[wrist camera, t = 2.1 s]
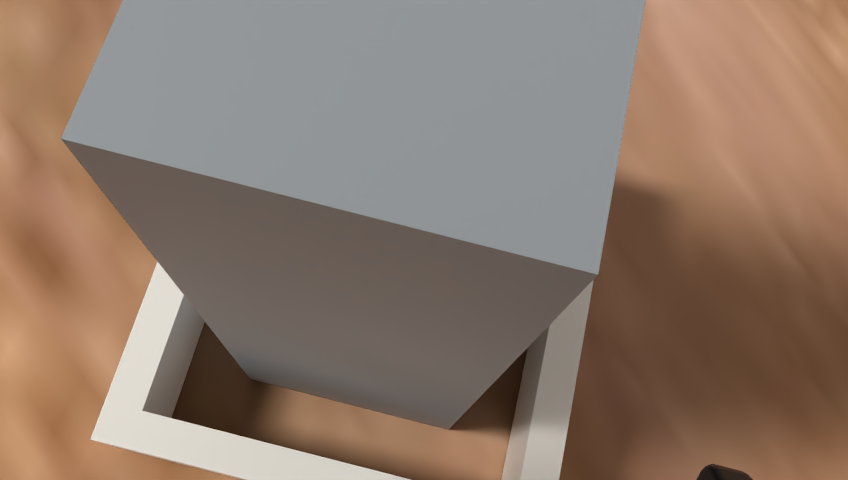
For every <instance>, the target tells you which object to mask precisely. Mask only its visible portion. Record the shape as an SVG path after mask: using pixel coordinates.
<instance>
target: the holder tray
mask: <svg viewBox="0 0 848 480" xmlns="http://www.w3.org/2000/svg"><path fill="white" fill-rule="evenodd" d="M593 281H594V280H593ZM593 281H592V282H591V283H590V284H589V285H588V286H587V287H586V288H585V289H584V290H583V291H582V292H581V293H580V294H579V295H578V296H577V297H576V298H575V299H574V300H573V301H572V302H571V303H570V304H569V305H568V306H567V308H566V309H565V310H564V311H563V312H562V313H561V314H560V315H559V316H558V317H557V318H556V319H555V320H554V321H553V322H552V323H551V324H550V325H549V326H548V327H547V328H546V329H545V330H544V331H543V332H542V333H541V334H540V335H539V337H538V338H537V339H536V340H535V341H534V342H533V343H532V344H531V345H530V346H529V347H528V349H527V354H526V359H525V364H524V369H523V374H522V379H521V384H520V389H519V394H518V399H517V404H516V409H515V414H514V419H513V424H512V429H511V434H510V439H509V445H508V450H507V455H506V460H505V465H504V470H503V475H502V480H559V477H560V471H561V465H562V460H563V454H564V448H565V442H566V437H567V431H568V425H569V419H570V414H571V408H572V402H573V396H574V391H575V385H576V379H577V373H578V368H579V362H580V356H581V350H582V345H583V339H584V333H585V327H586V322H587V316H588V310H589V304H590V299H591V293H592V287H593ZM204 323H205V321H204V320H203V319H202V317H201V316H200V315H199V314H198V312H197V311H196V310H195V308H194V307H193V306H192V305H191V303H190V302H189V301H188V300H187V298H186V297H185V296H184V294H183V293H182V292H181V291H180V289H179V288H178V287H177V286H176V284H175V283H174V282H173V280H172V279H171V278H170V277H169V275H168V274H167V273H166V272H165V270H164V269H163V268H162V266H161V265H160V264H159V263H158V262H157V265H156V268H155V270H154V273H153V275H152V278H151V281H150V283H149V286H148V289H147V291H146V294H145V297H144V299H143V302H142V305H141V307H140V310H139V312H138V315H137V318H136V320H135V323H134V326H133V328H132V331H131V334H130V336H129V339H128V342H127V344H126V347H125V349H124V352H123V355H122V357H121V360H120V363H119V365H118V368H117V371H116V373H115V376H114V379H113V381H112V384H111V386H110V389H109V392H108V394H107V397H106V400H105V402H104V405H103V408H102V410H101V413H100V416H99V418H98V421H97V423H96V426H95V429H94V431H93V434H92V437H91V440H94V441H97V442H101V443H104V444H107V445H111V446H114V447H117V448H121V449H124V450H128V451H132V452H136V453H139V454H143V455H147V456H151V457H155V458H159V459H163V460H167V461H171V462H174V463H178V464H182V465H186V466H190V467H194V468H198V469H202V470H206V471H209V472H213V473H217V474H221V475H225V476H229V477H233V478H237V479H241V480H410V479H407V478H403V477H399V476H395V475H391V474H387V473H383V472H379V471H375V470H371V469H368V468H364V467H360V466H356V465H352V464H348V463H344V462H340V461H336V460H332V459H329V458H325V457H321V456H317V455H313V454H309V453H305V452H301V451H297V450H293V449H290V448H286V447H282V446H278V445H274V444H270V443H266V442H262V441H258V440H254V439H251V438H247V437H243V436H239V435H235V434H231V433H227V432H223V431H219V430H215V429H212V428H208V427H204V426H200V425H196V424H192V423H188V422H184V421H180V420H176V419H173V418H172V415H173V412H174V409H175V406H176V404H177V401H178V398H179V395H180V392H181V389H182V386H183V383H184V380H185V378H186V375H187V372H188V369H189V366H190V363H191V360H192V357H193V354H194V352H195V349H196V346H197V343H198V340H199V337H200V334H201V331H202V329H203V326H204Z"/></svg>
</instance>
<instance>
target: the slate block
mask: <svg viewBox="0 0 848 480" xmlns="http://www.w3.org/2000/svg"><path fill="white" fill-rule="evenodd" d="M644 6H645V0H123V2H122V4H121V6H120V8H119V11H118V13H117V15H116V17H115V20H114V22H113V24H112V26H111V28H110V31H109V33H108V35H107V37H106V40H105V42H104V44H103V46H102V49H101V51H100V53H99V55H98V57H97V60H96V62H95V64H94V66H93V69H92V71H91V73H90V75H89V78H88V80H87V82H86V84H85V86H84V89H83V91H82V93H81V95H80V98H79V100H78V102H77V104H76V107H75V109H74V111H73V113H72V115H71V118H70V120H69V122H68V124H67V127H66V129H65V131H64V133H63V136H62V138H61V139H62V141H63V142H64V143H65V144H66V146H67V147H68V148H69V150H70V151H71V152H72V153H73V155H74V156H75V157H76V158H77V160H78V161H79V162H80V164H81V165H82V166H83V167H84V169H85V170H86V171H87V172H88V174H89V175H90V176H91V177H92V179H93V180H94V181H95V183H96V184H97V185H98V186H99V188H100V189H101V190H102V191H103V193H104V194H105V195H106V197H107V198H108V199H109V200H110V202H111V203H112V204H113V205H114V207H115V208H116V209H117V211H118V212H119V213H120V214H121V216H122V217H123V218H124V219H125V221H126V222H127V223H128V225H129V226H130V227H131V228H132V230H133V231H134V232H135V233H136V235H137V236H138V237H139V239H140V240H141V241H142V242H143V244H144V245H145V246H146V247H147V249H148V250H149V251H150V252H151V254H152V255H153V256H154V258H155V259H156V260H157V261H158V263H159V264H160V265H161V266H162V268H163V269H164V270H165V272H166V273H167V274H168V275H169V277H170V278H171V279H172V280H173V282H174V283H175V284H176V286H177V287H178V288H179V289H180V291H181V292H182V293H183V294H184V296H185V297H186V298H187V300H188V301H189V302H190V303H191V305H192V306H193V307H194V308H195V310H196V311H197V312H198V314H199V315H200V316H201V317H202V319H203V320H204V321H205V322H206V324H207V325H208V326H209V327H210V329H211V330H212V331H213V333H214V334H215V335H216V336H217V338H218V339H219V340H220V341H221V343H222V344H223V345H224V347H225V348H226V349H227V350H228V352H229V353H230V354H231V355H232V357H233V358H234V359H235V361H236V362H237V363H238V364H239V366H240V367H241V368H242V369H243V371H244V372H245V373H246V375H247V376H248V377H249V378H250V379H252V380H256V381H260V382H264V383H268V384H272V385H276V386H279V387H283V388H287V389H291V390H295V391H299V392H303V393H307V394H311V395H315V396H319V397H323V398H326V399H330V400H334V401H338V402H342V403H346V404H350V405H354V406H358V407H362V408H366V409H369V410H373V411H377V412H381V413H385V414H389V415H393V416H397V417H401V418H405V419H409V420H413V421H416V422H420V423H424V424H428V425H432V426H436V427H440V428H444V429H448V430H449V429H450V428H451V427H452V426H453V424H454V423H455V422H456V421H457V420H458V419H459V418H460V417H461V416H462V415H463V414H464V413H465V412H466V411H467V410H468V409H469V408H470V407H471V406H472V405H473V404H474V403H475V402H476V401H477V400H478V399H479V398H480V397H481V396H482V394H483V393H484V392H485V391H486V390H487V389H488V388H489V387H490V386H491V385H492V384H493V383H494V382H495V381H496V380H497V379H498V378H499V377H500V376H501V375H502V374H503V373H504V372H505V371H506V370H507V369H508V368H509V367H510V365H511V364H512V363H513V362H514V361H515V360H516V359H517V358H518V357H519V356H520V355H521V354H522V353H523V352H524V351H525V350H526V349H527V348H528V347H529V346H530V345H531V344H532V343H533V342H534V341H535V340H536V339H537V338H538V337H539V335H540V334H541V333H542V332H543V331H544V330H545V329H546V328H547V327H548V326H549V325H550V324H551V323H552V322H553V321H554V320H555V319H556V318H557V317H558V316H559V315H560V314H561V313H562V312H563V311H564V310H565V309H566V308H567V306H568V305H569V304H570V303H571V302H572V301H573V300H574V299H575V298H576V297H577V296H578V295H579V294H580V293H581V292H582V291H583V290H584V289H585V288H586V287H587V286H588V285H589V284H590V283H591V282H592V281H593V280H594V279H595V278H596V276H597V275H598V273H599V267H600V261H601V256H602V250H603V244H604V238H605V232H606V227H607V221H608V215H609V209H610V203H611V198H612V192H613V186H614V180H615V174H616V169H617V163H618V157H619V151H620V145H621V140H622V134H623V128H624V122H625V116H626V111H627V105H628V99H629V93H630V87H631V82H632V76H633V70H634V64H635V58H636V53H637V47H638V41H639V35H640V29H641V24H642V18H643V12H644Z"/></svg>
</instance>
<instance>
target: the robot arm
mask: <svg viewBox="0 0 848 480" xmlns="http://www.w3.org/2000/svg"><path fill="white" fill-rule="evenodd" d="M697 480H753V479H752V478H751V477H750V476H749V475H747V474H746V473H744V472H742V471H739V470H735V469H731V468H727V467H723V466H719V465H715V464H710V465H708V466H705V467H704V469H703V470H702V471H701V472H700V474H699V476H698V478H697Z"/></svg>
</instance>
